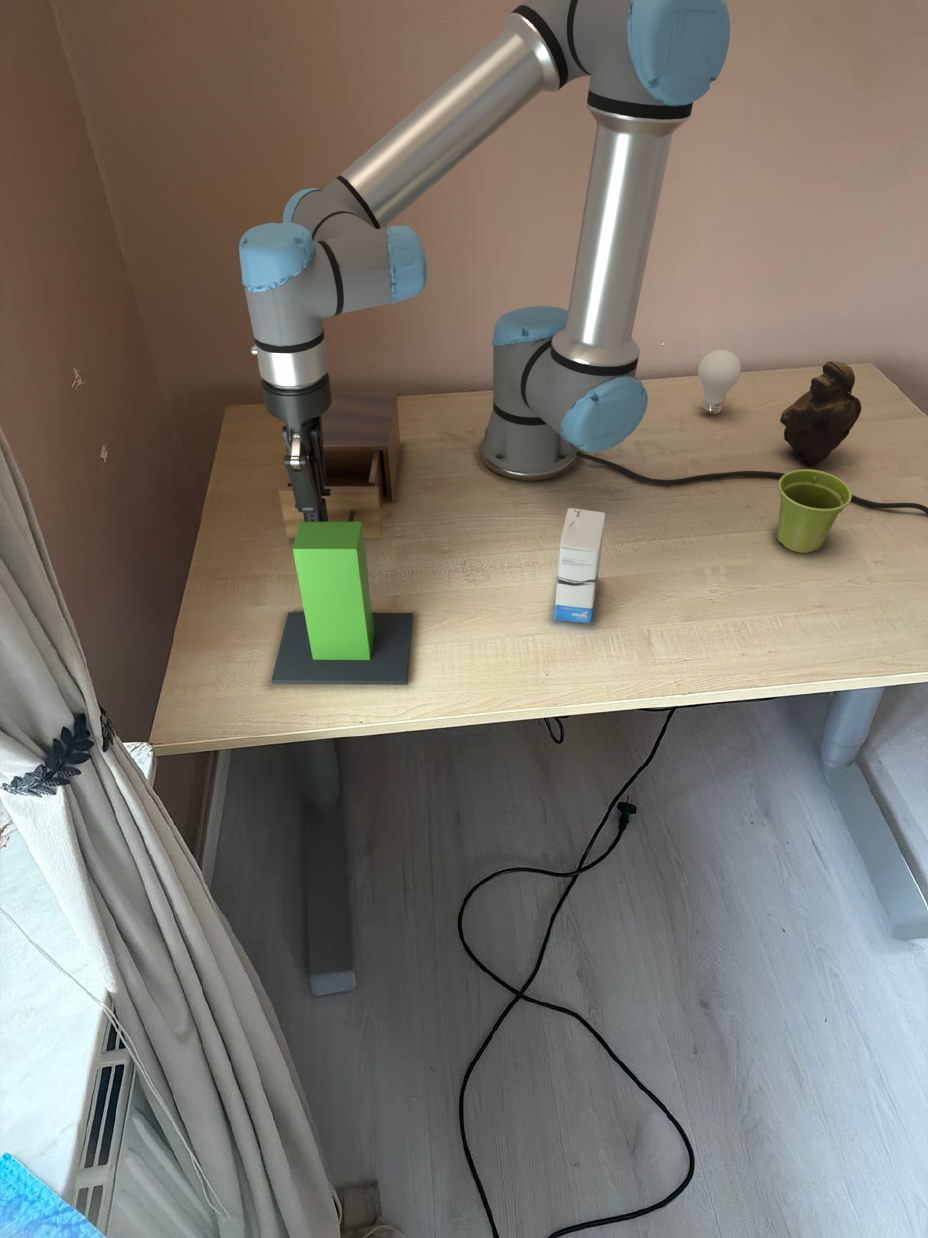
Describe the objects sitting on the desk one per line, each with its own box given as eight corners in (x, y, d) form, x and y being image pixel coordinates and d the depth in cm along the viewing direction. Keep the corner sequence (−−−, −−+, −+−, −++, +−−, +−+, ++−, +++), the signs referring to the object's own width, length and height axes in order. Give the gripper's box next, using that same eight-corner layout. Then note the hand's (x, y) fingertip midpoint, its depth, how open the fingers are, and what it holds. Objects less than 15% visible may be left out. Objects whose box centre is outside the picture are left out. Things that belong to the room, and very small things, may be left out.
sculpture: (752, 432, 139) (812, 344, 133) (795, 450, 145) (854, 367, 139) (794, 465, 132) (859, 373, 125) (838, 483, 138) (902, 396, 131)
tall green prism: (374, 631, 112) (361, 521, 100) (370, 660, 108) (357, 549, 97) (318, 631, 112) (299, 521, 100) (312, 659, 108) (292, 549, 97)
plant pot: (835, 527, 127) (853, 475, 121) (833, 567, 121) (851, 515, 115) (768, 515, 129) (781, 464, 124) (761, 553, 123) (775, 501, 117)
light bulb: (735, 423, 148) (748, 361, 141) (694, 423, 148) (706, 361, 141) (726, 402, 153) (739, 342, 146) (687, 403, 153) (698, 342, 146)
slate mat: (413, 616, 115) (412, 612, 114) (406, 684, 106) (406, 681, 105) (288, 615, 115) (288, 612, 115) (272, 683, 106) (271, 680, 106)
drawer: (378, 559, 122) (374, 512, 117) (280, 558, 122) (271, 512, 117) (390, 479, 136) (386, 434, 131) (302, 479, 136) (295, 434, 131)
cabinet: (392, 501, 133) (387, 445, 127) (295, 501, 134) (285, 445, 127) (400, 445, 145) (396, 391, 138) (310, 445, 145) (302, 391, 139)
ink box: (591, 625, 113) (600, 552, 105) (552, 620, 114) (558, 547, 106) (598, 582, 119) (606, 510, 111) (560, 578, 120) (566, 505, 112)
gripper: (271, 347, 104) (298, 513, 120) (249, 403, 95) (282, 575, 111) (335, 348, 104) (354, 513, 120) (320, 403, 95) (342, 576, 110)
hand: (319, 543), depth 115 cm, fingers closed
